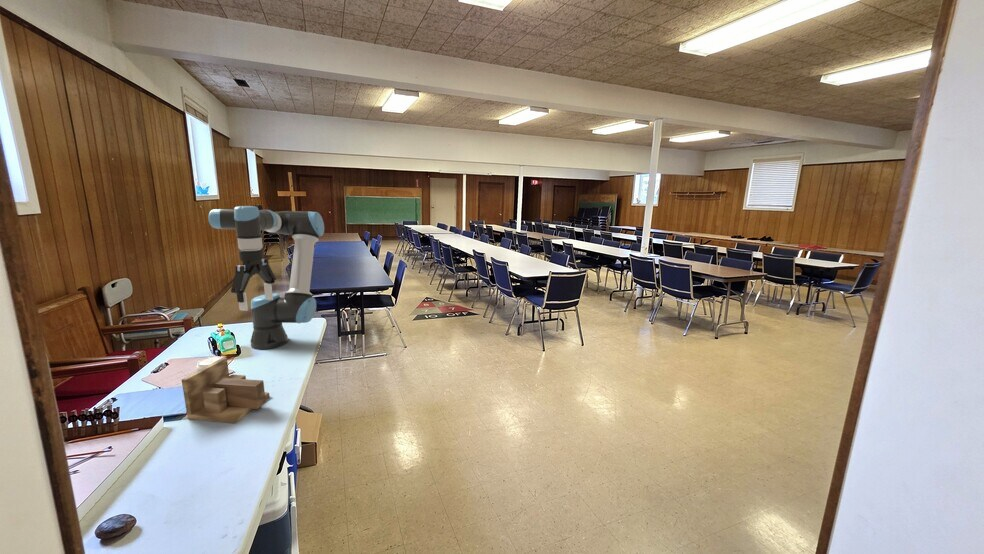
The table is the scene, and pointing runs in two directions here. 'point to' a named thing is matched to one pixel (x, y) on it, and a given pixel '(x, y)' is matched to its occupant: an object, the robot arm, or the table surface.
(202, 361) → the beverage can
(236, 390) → the rail
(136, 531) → the table surface
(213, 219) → the robot arm
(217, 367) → the wooden step bracket
